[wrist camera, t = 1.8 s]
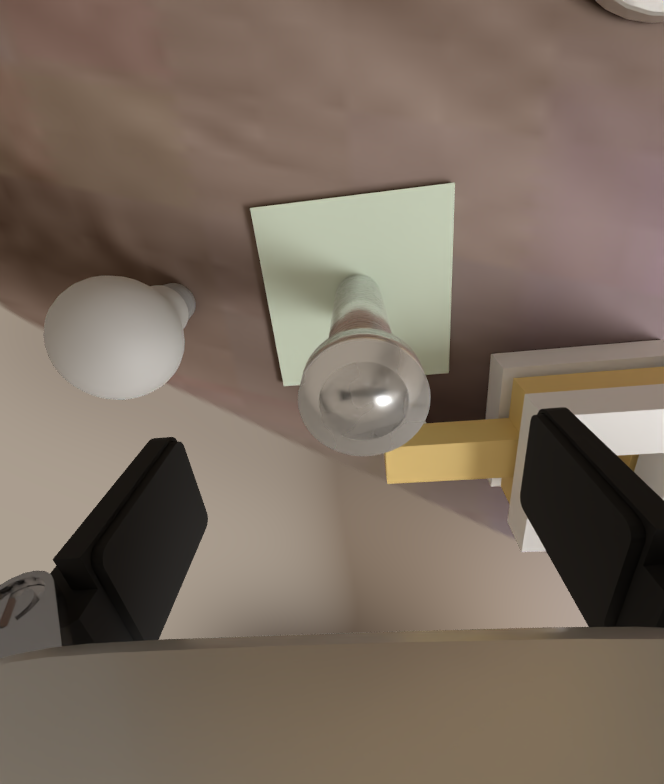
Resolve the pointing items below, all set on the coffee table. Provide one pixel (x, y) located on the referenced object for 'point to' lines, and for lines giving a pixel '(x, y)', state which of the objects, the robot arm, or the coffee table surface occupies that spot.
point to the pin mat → (359, 268)
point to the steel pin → (363, 378)
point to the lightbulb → (118, 335)
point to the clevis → (540, 391)
